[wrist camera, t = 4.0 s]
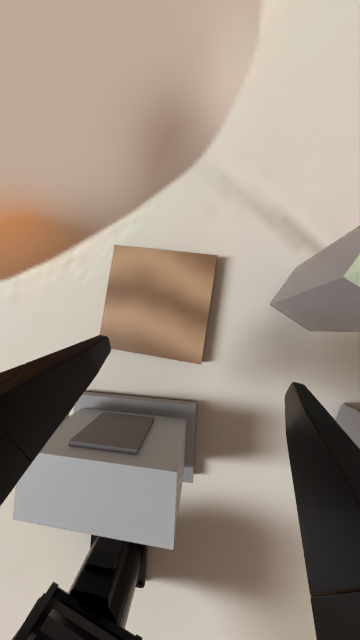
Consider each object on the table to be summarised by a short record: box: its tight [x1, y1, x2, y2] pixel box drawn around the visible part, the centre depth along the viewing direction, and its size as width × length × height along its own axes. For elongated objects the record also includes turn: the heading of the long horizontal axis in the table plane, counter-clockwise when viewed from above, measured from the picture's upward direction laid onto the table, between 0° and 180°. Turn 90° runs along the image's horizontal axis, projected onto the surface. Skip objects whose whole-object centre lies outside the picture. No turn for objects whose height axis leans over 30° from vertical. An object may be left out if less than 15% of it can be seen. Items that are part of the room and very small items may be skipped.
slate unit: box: [13, 392, 196, 550], centre depth 17 cm, size 8×14×8 cm, turn 87°
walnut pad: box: [100, 245, 217, 364], centre depth 22 cm, size 12×12×1 cm
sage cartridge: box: [270, 226, 360, 332], centre depth 14 cm, size 5×5×12 cm
